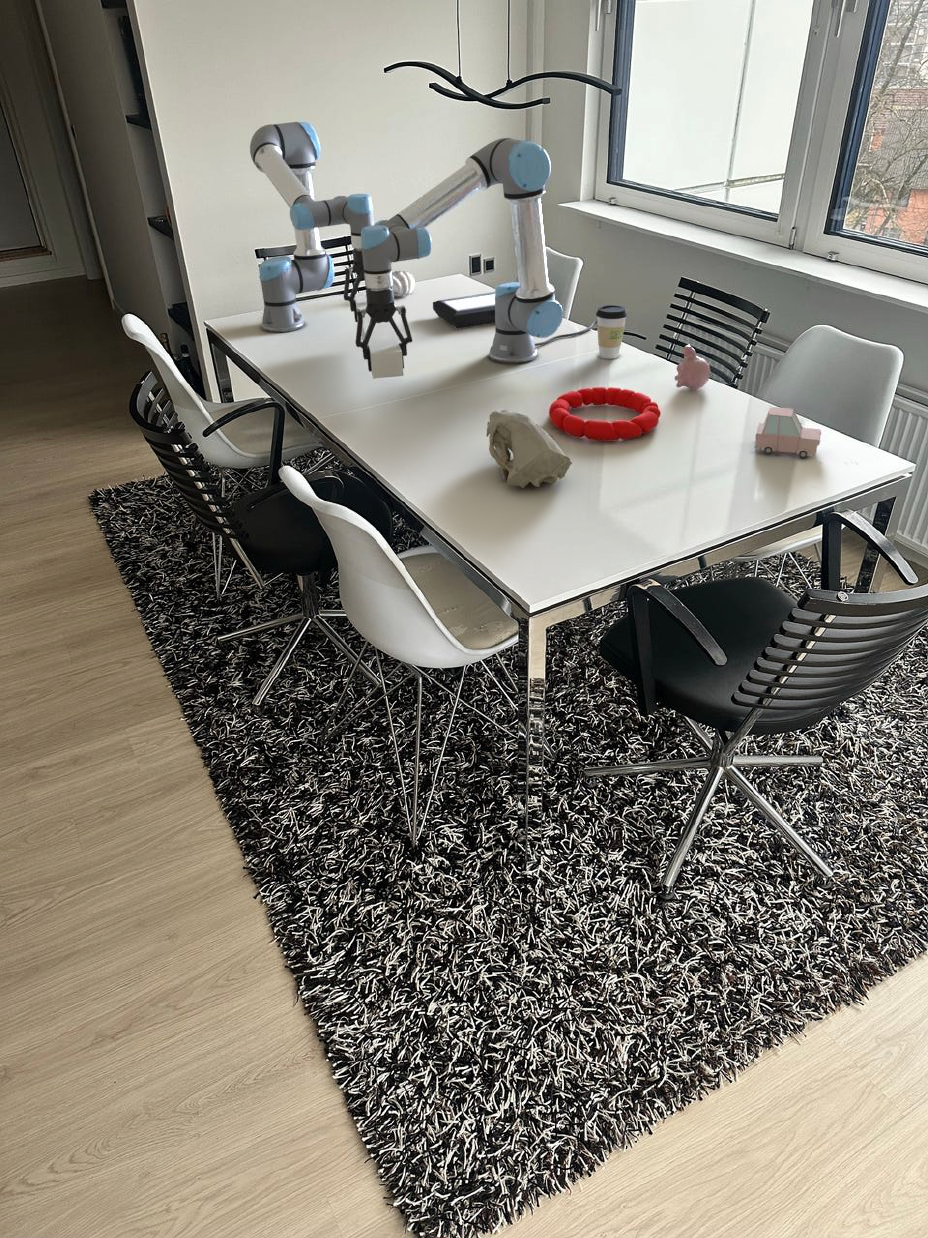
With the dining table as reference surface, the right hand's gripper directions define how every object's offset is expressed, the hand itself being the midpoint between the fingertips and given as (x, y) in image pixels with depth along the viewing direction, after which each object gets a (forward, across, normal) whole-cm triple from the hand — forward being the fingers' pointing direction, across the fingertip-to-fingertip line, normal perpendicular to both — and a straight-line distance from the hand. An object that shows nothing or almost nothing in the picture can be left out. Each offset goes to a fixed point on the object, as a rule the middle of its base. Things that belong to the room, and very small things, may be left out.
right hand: (386, 368), depth 257 cm
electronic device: (+10, +43, +75) cm, 87 cm away
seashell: (+10, +16, +113) cm, 114 cm away
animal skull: (+10, +27, -56) cm, 63 cm away
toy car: (+10, +95, -60) cm, 112 cm away
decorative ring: (+10, +56, -31) cm, 65 cm away
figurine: (+10, +88, -13) cm, 89 cm away
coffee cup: (+10, +74, +22) cm, 78 cm away
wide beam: (0, 0, +24) cm, 24 cm away
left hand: (0, 0, +49) cm, 49 cm away
